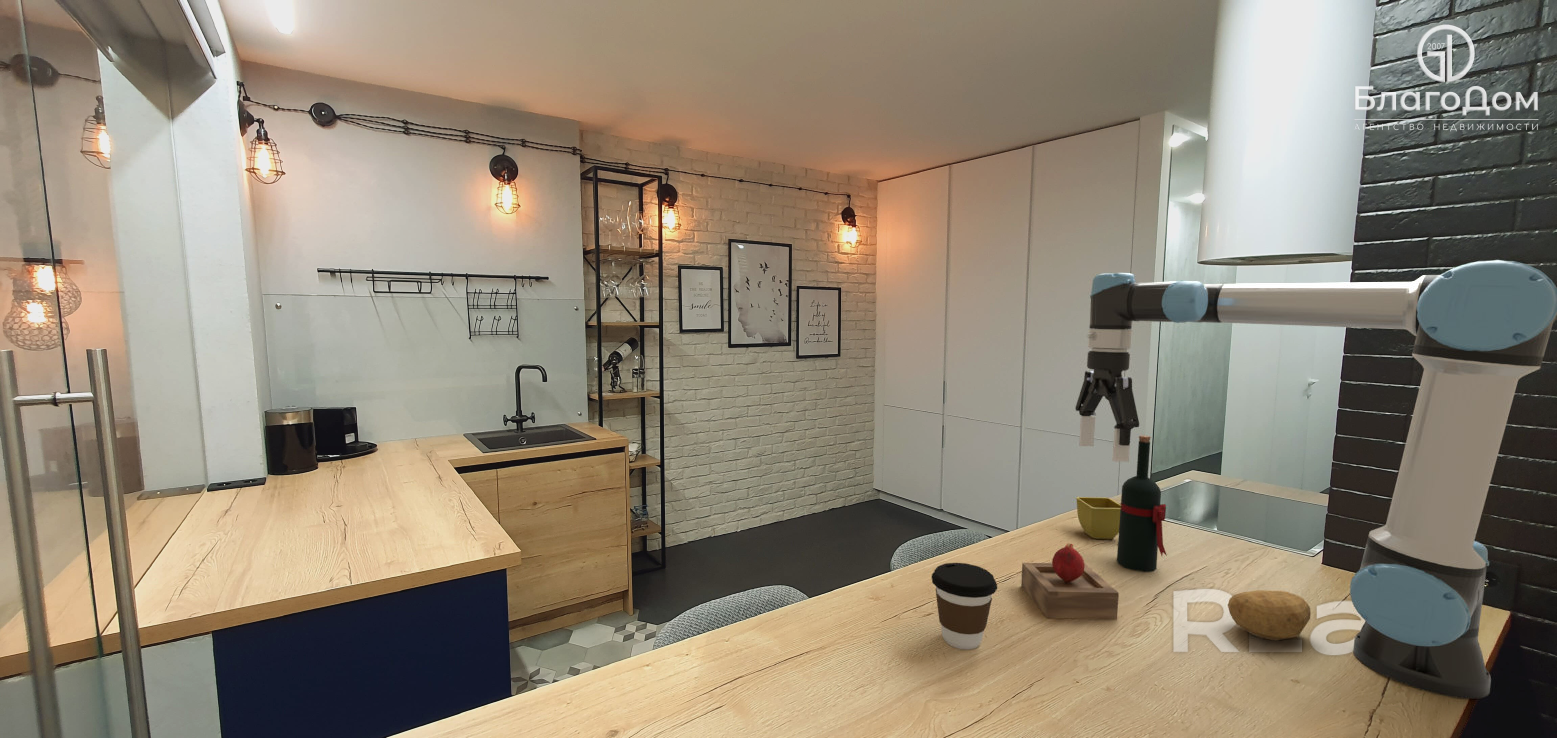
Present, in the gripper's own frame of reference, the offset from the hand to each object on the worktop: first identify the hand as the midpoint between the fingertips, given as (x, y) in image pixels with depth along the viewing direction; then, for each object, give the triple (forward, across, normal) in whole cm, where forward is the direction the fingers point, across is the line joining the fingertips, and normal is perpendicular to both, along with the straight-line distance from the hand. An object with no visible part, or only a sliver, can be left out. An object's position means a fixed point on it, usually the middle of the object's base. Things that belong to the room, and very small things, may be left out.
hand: (1102, 453), depth 123 cm
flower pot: (+29, -30, +16) cm, 45 cm away
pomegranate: (+25, +7, -9) cm, 27 cm away
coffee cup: (+29, +22, -34) cm, 50 cm away
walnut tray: (+29, +7, -9) cm, 31 cm away
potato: (+29, +18, +22) cm, 41 cm away
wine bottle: (+29, -11, +16) cm, 35 cm away
